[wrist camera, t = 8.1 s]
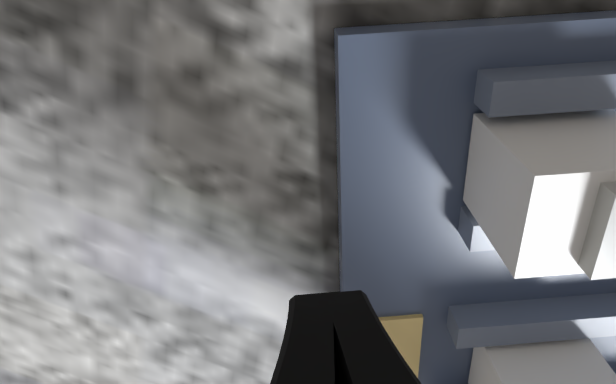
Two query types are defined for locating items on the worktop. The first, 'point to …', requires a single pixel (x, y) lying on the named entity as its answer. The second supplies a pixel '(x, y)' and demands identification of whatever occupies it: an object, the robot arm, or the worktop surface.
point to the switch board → (457, 180)
